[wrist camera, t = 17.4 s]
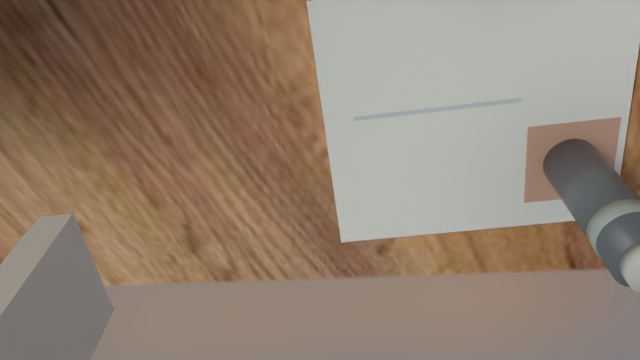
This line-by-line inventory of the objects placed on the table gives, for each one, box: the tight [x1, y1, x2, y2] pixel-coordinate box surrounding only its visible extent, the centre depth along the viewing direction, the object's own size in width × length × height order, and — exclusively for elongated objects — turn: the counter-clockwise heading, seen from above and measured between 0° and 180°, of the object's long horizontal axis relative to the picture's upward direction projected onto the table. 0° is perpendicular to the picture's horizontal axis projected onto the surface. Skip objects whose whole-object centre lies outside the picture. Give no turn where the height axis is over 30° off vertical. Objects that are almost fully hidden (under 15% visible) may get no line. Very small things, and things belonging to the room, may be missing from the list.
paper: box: [306, 0, 640, 242], centre depth 37 cm, size 20×18×1 cm
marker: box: [543, 139, 640, 293], centre depth 33 cm, size 4×4×12 cm
